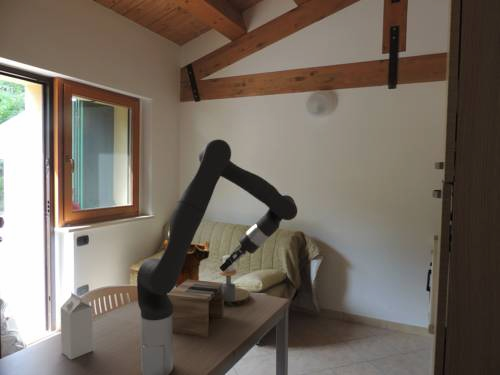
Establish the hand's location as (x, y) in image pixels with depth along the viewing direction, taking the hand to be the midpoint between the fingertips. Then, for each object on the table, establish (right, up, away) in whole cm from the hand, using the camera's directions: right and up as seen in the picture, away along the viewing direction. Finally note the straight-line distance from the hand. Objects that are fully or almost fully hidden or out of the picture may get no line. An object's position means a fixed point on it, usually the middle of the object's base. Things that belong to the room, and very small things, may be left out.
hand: (223, 267), depth 129 cm
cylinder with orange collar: (+2, -12, 0) cm, 12 cm away
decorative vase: (-20, -21, +33) cm, 44 cm away
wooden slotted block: (-11, -23, +4) cm, 26 cm away
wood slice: (+2, -22, +29) cm, 37 cm away
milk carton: (-47, -24, -17) cm, 55 cm away
